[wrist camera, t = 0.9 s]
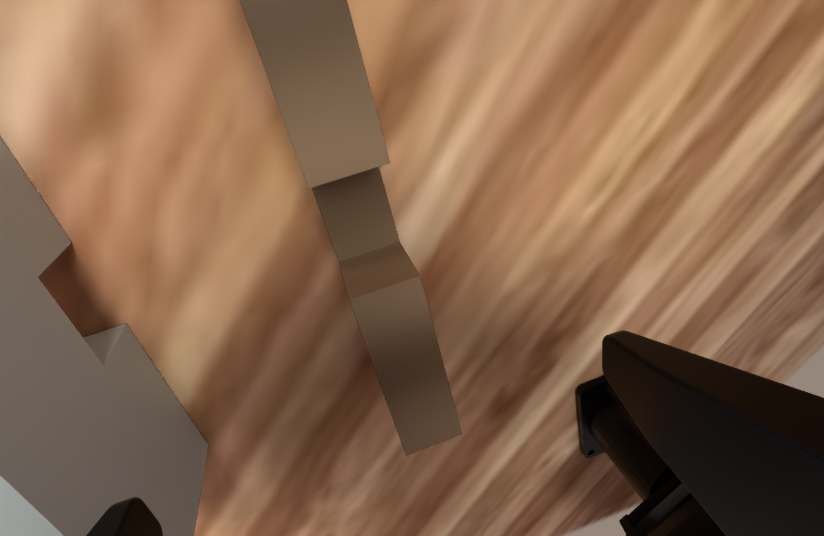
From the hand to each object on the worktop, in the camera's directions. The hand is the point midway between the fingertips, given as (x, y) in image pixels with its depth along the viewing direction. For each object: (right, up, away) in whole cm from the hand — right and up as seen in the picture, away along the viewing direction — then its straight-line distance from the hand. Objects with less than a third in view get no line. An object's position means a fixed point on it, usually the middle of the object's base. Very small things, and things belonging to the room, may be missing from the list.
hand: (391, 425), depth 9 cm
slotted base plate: (-2, +7, +11) cm, 13 cm away
